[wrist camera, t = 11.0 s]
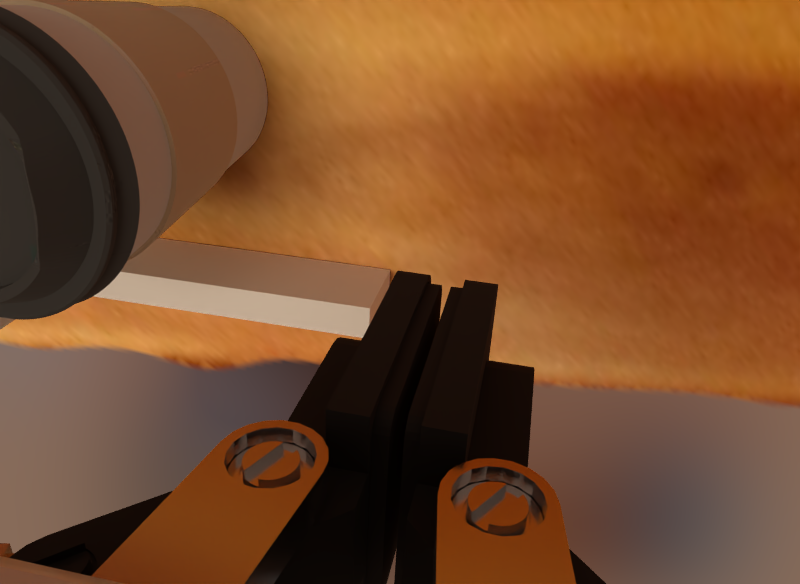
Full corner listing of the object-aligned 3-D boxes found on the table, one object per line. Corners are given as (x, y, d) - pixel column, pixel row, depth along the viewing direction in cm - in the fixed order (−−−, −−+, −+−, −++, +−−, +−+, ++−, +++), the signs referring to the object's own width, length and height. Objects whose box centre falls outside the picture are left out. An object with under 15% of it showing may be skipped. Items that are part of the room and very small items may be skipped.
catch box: (411, -140, 25) (331, -189, 16) (388, 297, 33) (328, 422, 24) (9, -156, 28) (-247, -206, 19) (80, 253, 36) (-75, 351, 27)
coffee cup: (112, 170, 33) (-181, 314, 20) (93, -35, 29) (-294, -24, 16) (289, 202, 32) (101, 377, 19) (296, -7, 28) (61, 30, 15)
